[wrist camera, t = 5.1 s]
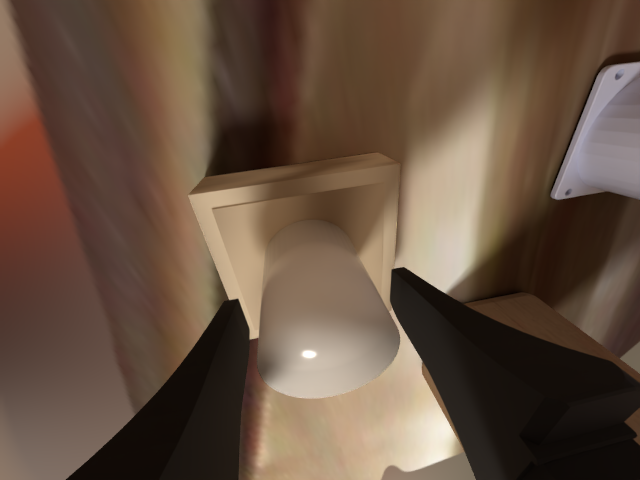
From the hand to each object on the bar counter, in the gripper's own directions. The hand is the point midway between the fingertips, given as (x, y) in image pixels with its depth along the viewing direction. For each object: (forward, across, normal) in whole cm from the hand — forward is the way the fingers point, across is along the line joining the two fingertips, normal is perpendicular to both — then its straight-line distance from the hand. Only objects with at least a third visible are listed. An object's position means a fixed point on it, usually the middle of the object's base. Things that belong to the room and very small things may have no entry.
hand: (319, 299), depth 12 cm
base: (+6, 0, 0) cm, 6 cm away
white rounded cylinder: (+3, 0, 0) cm, 3 cm away
